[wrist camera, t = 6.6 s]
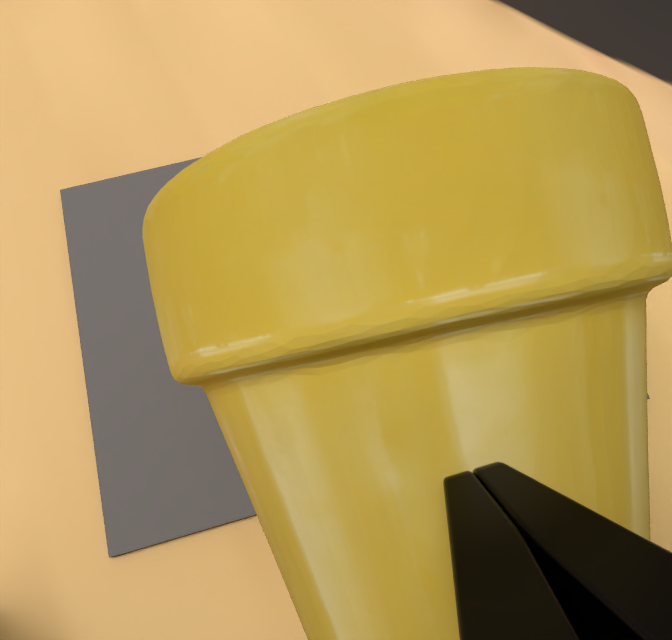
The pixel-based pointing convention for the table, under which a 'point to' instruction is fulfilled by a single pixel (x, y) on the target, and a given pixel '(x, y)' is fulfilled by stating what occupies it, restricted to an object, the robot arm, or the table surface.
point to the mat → (141, 379)
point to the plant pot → (417, 321)
